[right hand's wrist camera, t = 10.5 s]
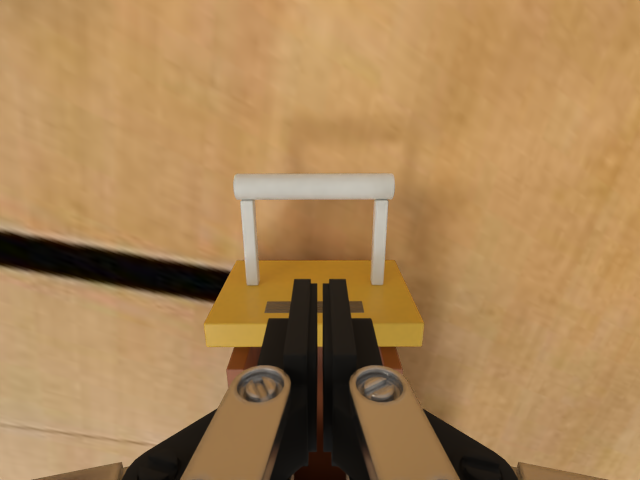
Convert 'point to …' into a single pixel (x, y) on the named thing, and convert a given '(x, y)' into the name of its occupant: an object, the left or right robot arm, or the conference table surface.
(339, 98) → the conference table surface
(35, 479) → the right robot arm
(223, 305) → the drawer
